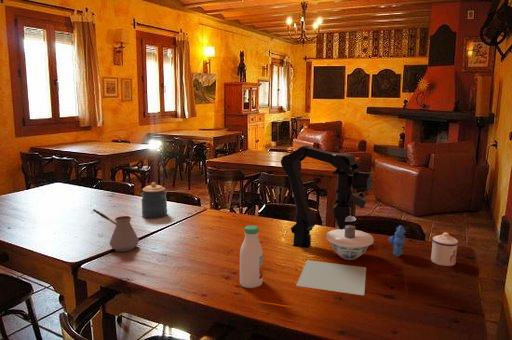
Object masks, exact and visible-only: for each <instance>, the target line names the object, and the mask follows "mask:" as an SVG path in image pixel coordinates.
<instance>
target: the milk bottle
mask: <svg viewBox="0 0 512 340" xmlns="http://www.w3.org/2000/svg"><path fill="white" fill-rule="evenodd" d="M240 246H241V247H240V251H239V285H241V287H243V288H245V289H254V288H258V287H260V286H261V285H263V281H264V279H263V274H264V273H263V267H264V265H263V264H264V263H263V262H264V254H263V253H264V251H263V247H262V245H261V241H260V240H259V227H258V226H257V225H247V226H245V227H244V240H243V242H242V244H241V245H240Z"/></svg>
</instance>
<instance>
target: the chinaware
mask: <svg viewBox="0 0 512 340" xmlns="http://www.w3.org/2000/svg"><path fill="white" fill-rule="evenodd" d="M330 245H331V247H332V250H333V251H334V252H335V253H336V254H337V255H338V256H339V258H341V259H344V260H349V261H350V260H351V261H352V260H357V258H359V257H361V256H362V255H364V254H365V253H366V251H367V249H368V248H369V246H366V247H360V248H351V247H343V246H339V245H335V244H333V243H331V242H330Z"/></svg>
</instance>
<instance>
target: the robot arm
mask: <svg viewBox="0 0 512 340" xmlns="http://www.w3.org/2000/svg"><path fill="white" fill-rule="evenodd" d="M306 158H310V159H313V160H317V161H321V162H324V163H328V164H330V165H331V166H333V167H334V168H335V170H334V171H333V172H332V174H333V175H337V181H336V190H335V193H336V198H335V204H334V206H333V208H332V214H333V216H334V218H335V221H337V223H338V226H339V229H340V230H342V229H343V226H344V222H345V219H346V217H348V216H351V210H352V206H353V205H355V206H357V207H359V208H360V209H364V207H365V206H366V204H367V201H368V200H367V197H365V193H364V192H361V191H365V192H371V191H372V189H373V187H374V179H373V178H374V177H373V176H372V172H368V171H367V172H365V171H364V172H363V171H362V170H361V168H360V167H359V165H358V163H357V159H356V157H355V155H354V154H352V153H343V152H342V153H341V152H338V153H337V152H331V151H328V150H324V149H320V148H317V147H314V146H310V145H301V146H300V147H298V148H297V149H296V150H294V151H291V152H290V153H289V154H286V155H283V156H282V157H281V160H280V165H281V168H282V169H283V172H284V174H286V176H287V177H288V179H289V183H290V187H291V191H292V195H293V199H294V204H295V208H296V214H295V224H293V226H291V227H290V231H291V233H292V234H293V245H292V247H295V248H298V247H299V248H306V249H308V248H309V247H310V246H311V243H312V235H311V231H313V228H314V227H315V226H316V225H317V220H318V218H317V215H316V211H315V210H314V209H313V210H311V208H310V207H309V205H308V201H307V196H306V192H305V188H304V184H303V180H302V177H301V171H302V162H303V160H305V159H306ZM354 190H360V192H359V193H355V192H354Z"/></svg>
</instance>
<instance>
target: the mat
mask: <svg viewBox="0 0 512 340" xmlns="http://www.w3.org/2000/svg"><path fill="white" fill-rule="evenodd" d="M366 276H367V267H364V266H358V265H357V266H356V265H350V264H343V263H342V264H341V263H332V262H325V261H324V262H323V261H318V260H317V261H316V260H309V259H307V260H306V261H305V265H304V266H303V269H302V271H301V273H300V276H299V278H298V280H297V282H296V284H295V287H303V288H308V289H309V288H310V289H314V290H315V289H316V290H324V291H328V292H329V291H330V292H336V293H345V294H351V295H358V296H365V290H366Z"/></svg>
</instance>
